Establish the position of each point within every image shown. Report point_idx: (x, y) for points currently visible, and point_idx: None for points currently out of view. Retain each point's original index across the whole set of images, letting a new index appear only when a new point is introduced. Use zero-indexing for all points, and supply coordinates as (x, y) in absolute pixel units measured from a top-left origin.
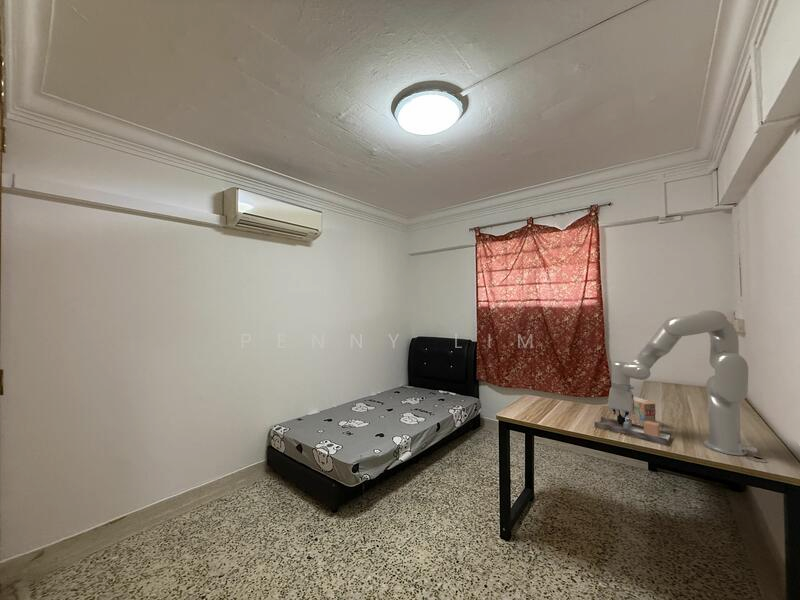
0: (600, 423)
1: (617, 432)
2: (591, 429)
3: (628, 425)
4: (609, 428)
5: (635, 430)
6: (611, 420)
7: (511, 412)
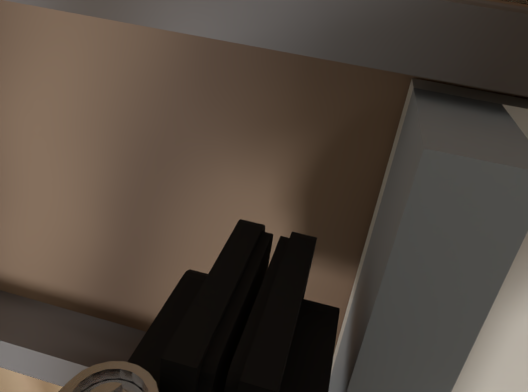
0: (14, 371)
1: None
2: None
3: None
4: None
5: (523, 350)
6: (55, 4)
7: None
